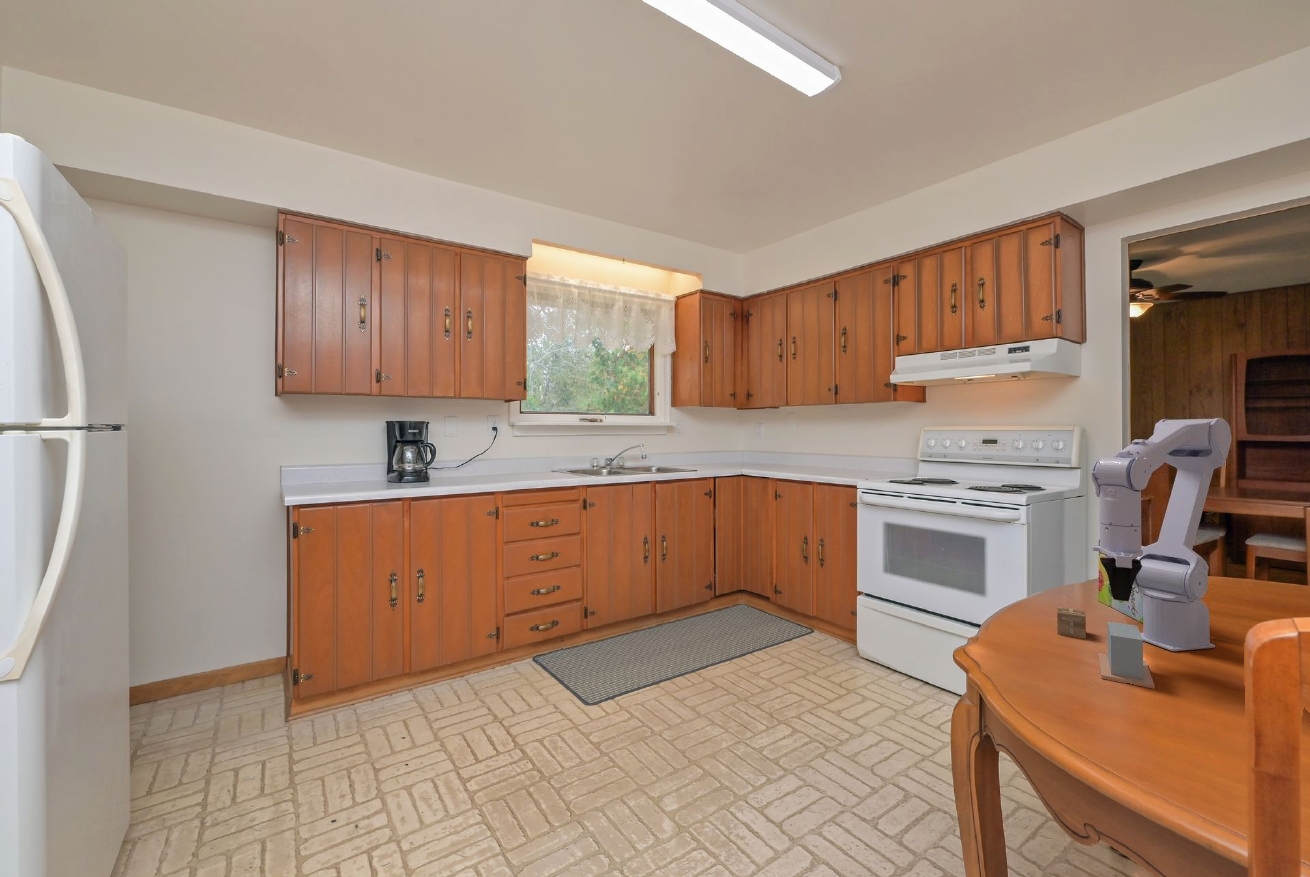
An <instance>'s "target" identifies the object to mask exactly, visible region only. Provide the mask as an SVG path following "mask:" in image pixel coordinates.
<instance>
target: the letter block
mask: <svg viewBox="0 0 1310 877" xmlns="http://www.w3.org/2000/svg"><path fill="white" fill-rule="evenodd" d="M1056 608H1057V611H1056V612H1057V613H1056V614H1057V623H1056V624H1057V635H1059V634H1064V635H1063V636H1065V635H1067V636H1066V637H1071V636H1075V637H1074V638H1077V637H1079V638H1078V639H1083V638H1086V639H1087V622H1086V621H1087V620H1086V619H1087V618H1086V616H1087V615H1086V610H1085V609H1078V608H1072V607H1071V608H1070V607H1065V606H1064V607H1063V606H1057V607H1056Z"/></svg>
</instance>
